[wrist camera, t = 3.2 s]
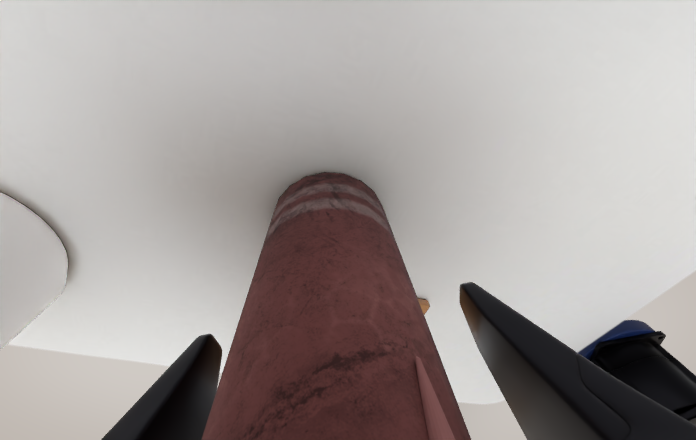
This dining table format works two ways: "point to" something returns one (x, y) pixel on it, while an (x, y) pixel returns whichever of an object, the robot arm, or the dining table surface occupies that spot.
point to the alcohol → (27, 267)
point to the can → (332, 331)
